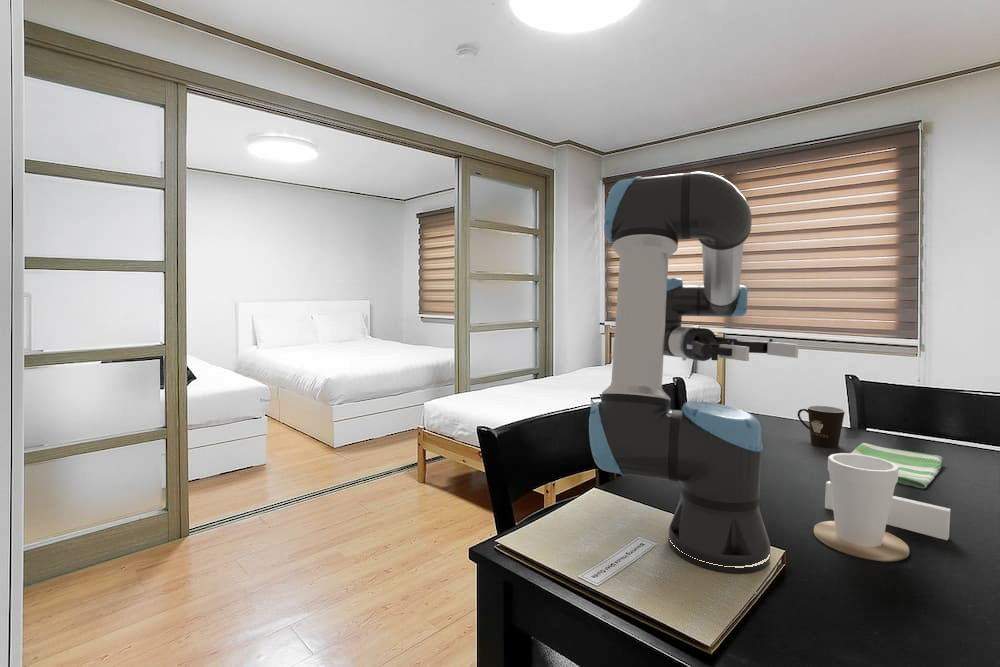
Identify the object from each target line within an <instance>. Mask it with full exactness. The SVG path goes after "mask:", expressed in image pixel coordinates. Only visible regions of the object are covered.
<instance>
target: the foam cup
mask: <svg viewBox="0 0 1000 667" xmlns="http://www.w3.org/2000/svg"><path fill="white" fill-rule="evenodd" d="M898 468H899V467H898V466H897V465H895V464H894V463H892V462H890V461H887V460H884V459H881V458H876V457H872V456H868V455H860V454H851V452H850V453H849V452H848V453H847V452H840V453H832V454H830V455H829V456H828V457H827V471H828V472H829V481H830V484H831V493H832V503H833V510H832V511H833V519H834V520H833V521H835V529H836V534H837V536H838V537H840V538H841V539H843V540H844V541H847V542H850V543H852V544H856V545H860V546H866V547H876V546H881V544H882V540H883V537H884V533H885V531H886V528H887V520H888V515H889V511H890V506H891V502H892V497H893V496H894V492H895V487H896V485H897V484H898V483H899V482H898Z"/></svg>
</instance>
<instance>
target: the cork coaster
mask: <svg viewBox="0 0 1000 667" xmlns="http://www.w3.org/2000/svg"><path fill="white" fill-rule="evenodd" d="M813 534H814V536H815V538H816V539H817V540H819V542H821V544H822V543H823V545H826V546H827V547H829V548H831V549H833V550H835V551H837V552H841V553H843V554H845V555H849V556H853V557H855V558H860V559H863V560H864V559H865V560H870V561H878V562H899V561H903V560H905V559H907V558H908V557H909V556H910V547H909V545H908V544H907V543H906V542H905V541H903V540H902V539H901V538H899V537H897V536H896V535H894V534H892V533H891V532H887V531H886V530H885V533H884V537H883V540H882V544H881V546H876V547H866V546H860V545H856V544H852V543H850V542H847V541H844V540H843V539H841V538H840V537H838V536H837V534H836V529H835V521H834V520H827V521H819V522H818V523H816V524H814V527H813Z"/></svg>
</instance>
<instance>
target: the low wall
mask: <svg viewBox="0 0 1000 667" xmlns="http://www.w3.org/2000/svg"><path fill="white" fill-rule="evenodd" d="M824 494H825V495H824V496H825V498H824V508H825V509H827V510H831V511H833V503H832V493H831V484H830V480H828V481H826V482H825V493H824ZM951 510H952V509H951V508H948V507H944V506H939V505H935V504H932V503H927V502H922V501H918V500H914V499H908V498H905V497H902V496H901V497H900V496H896V495H893V497H892V502H891V506H890V511H889V515H888V520H887V524H886V526H887V525H888V526H891V527H895V528H900V529H903V530H906V531H910V532H913V533H914V532H915V533H917V534H923V535H925V536H930V537H933V538H936V539H941V540H945V541H948V540H949V539H950V523H951Z"/></svg>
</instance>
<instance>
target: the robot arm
mask: <svg viewBox="0 0 1000 667" xmlns="http://www.w3.org/2000/svg"><path fill="white" fill-rule="evenodd" d="M605 203H606V204H605V208H604V218H603V219H604V224H603V228H604V235H605V239H606V241H607V242H609V243H611V244H612V247H611V248H612V250H613V251H614V253H615V254H616V255H617V256H618V257H619V264H618V265H619V266H618V277H617V278H618V282H617V296H616V311H615V323H614V324H615V326H614V337H613V338H614V340H613V353H612V355H613V356H612V369H611V370H612V372H611V382H610V385H609V386H608V387H607V388H606V389H604V390H603V391H602V392H601V398H600V400H601V401H597V402H595V403H593V404H592V405H591V407H590V410H589V418H588V436H589V445H590V450H591V454H592V458H593V461H594V463H595V465H596V466H597V468H599V469H600V470H602V471H605V472H608V473H614V474H617V475H618V474H619V475H620V476H633V477H639V478H640V477H641V478H646V479H647V478H648V479H653V480H656V479H657V480H662V481H663V480H664V481H670V482H677V483H678V482H679V483H680V484H681V486H680V499H679V501H678V504H677V506H676V510H675V512H674V513H673V514H674V515H673V516H672V519H671V522H670V525H669V528H668V544H669V546H670V548H671V549H672V551H673V552H674V553H675V554H677V555H678V556H679V557H680V558H682V559H684V560H686V561H688V562H690V563H692V564H694V565H695V566H696V565H697V566H699V567H701V568H706V569H709V570H713V571H718V572H722V573H731V574H732V573H733V574H735V573H736V574H738V573H739V574H743V573H744V574H745V573H753V572H758V571H760V570H763V569H765V568H766V567H767V566H768V565H769V564H770V561H771V556H770V557H769V559H768V560H767V561H766V562H764V563H763V564H760V565H757V566H753V567H744V568H735V567H724V566H745V565H752V564H755V563H758V562H760V561H762V560H764V559H766V558H767V557H768V555H769V554H770V555H771V542H770V539H769V536H768V532H767V530H766V527H765V523H764V520H763V517H762V514H761V509H760V494H761V492H760V491H761V488H760V487H761V459H762V458H761V457H762V456H761V455H762V451H763V448H764V446H763V443H762V426H761V423H760V421H759V420H758V419H757V417H755V415H753V414H751V413H749V412H747V411H745V410H742V409H740V408H736V407H733V406H729V405H724V404H721V403H715V402H712V401H711V402H710V401H709V402H708V401H697V400H693V401H692V400H689V401H686V402H684V403H683V406H681V409H671V397H670V396H669V395H668V394H667V393H666V392H665V391H664V389H663V373H664V369H663V368H664V356H667V357H675V358H681V359H682V361H683V362H685V361H687V359H689V360H693V361H699V362H700V361H701V362H706V361H709V360H711V361H718V360H719V358H720V359H721V358H722V359H727V360H735V361H736V360H737V361H742V362H749V361H750V353H752V354H766V355H768V356H769V355H770V356H776V357H777V356H778V357H785V358H795V359H797V358H799V344H797V343H789V342H788V343H785V342H777V341H775V340H773V338H768V339H769V340H768V341H767V340H752V339H751V340H748V339H737V338H734V337H733V338H729V337H727V338H726V337H724V336H716V334H715V332H714V331H712V330H711V329H709V328H704V327H694V326H693V327H692V326H682V322H683V320H682V318H683V317H720V318H721V317H722V318H723V317H725V318H726V317H727V318H731V317H743V316H745V315H747V310H748V294H749V293H748V288H747V286H745V285H741V274H742V266H743V264H742V263H743V254H744V243H745V242H746V241H747V239H748V237H749V236H750V234H751V230H752V223H753V222H752V220H753V219H752V213H751V208H750V206H749V203H748V201H747V199H746V198H745V196H744V195H743V194H742V192H741V191H740V190H739V188H738V187H736V186H735V185H734V184H733V183H731V182H730V181H728V180H727V179H725V178H724V177H722V176H720V175H717V174H715V173H711V172H706V171H692V172H687V173H685V172H684V173H673V174H665V175H654V176H644V177H642V176H635V177H633V178H625V179H621V180H618V181H616V182H615V183H614V184H613V185H612V187H611V189H610V191H609V193H608V196H607V199H606V202H605ZM688 239H689V240H690V239H697V241H699V243H700V244H701V248H702V250H701V251H702V275H703V276H702V277H703V280H702V281H703V285H688V284H687V285H684V283H683V282H684V281H683V279H682V278H679V277H673V278H672V277H668V275H669V274H668V272H669V258H670V257H671V256H672V255H673V254H674V253H676V252H677V251H678V248H679V240H688ZM669 538H670V539H669ZM670 540H671V542H672V543H673V544H672V543H671V542H670ZM673 545H675V547H674V546H673ZM676 547H677V548H678V549H679V550H680V551H679V550H678V549H677V548H676ZM681 551H682V552H683V553H682V552H681ZM684 553H685V554H684ZM686 554H687V555H686ZM688 555H689V556H688ZM690 556H691V557H690ZM692 557H693V558H692ZM694 558H696V559H694ZM697 559H698V560H697ZM699 560H702V561H705V562H702V561H699ZM706 562H709V563H713V564H718V565H723V566H718V565H713V564H709V563H706Z"/></svg>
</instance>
